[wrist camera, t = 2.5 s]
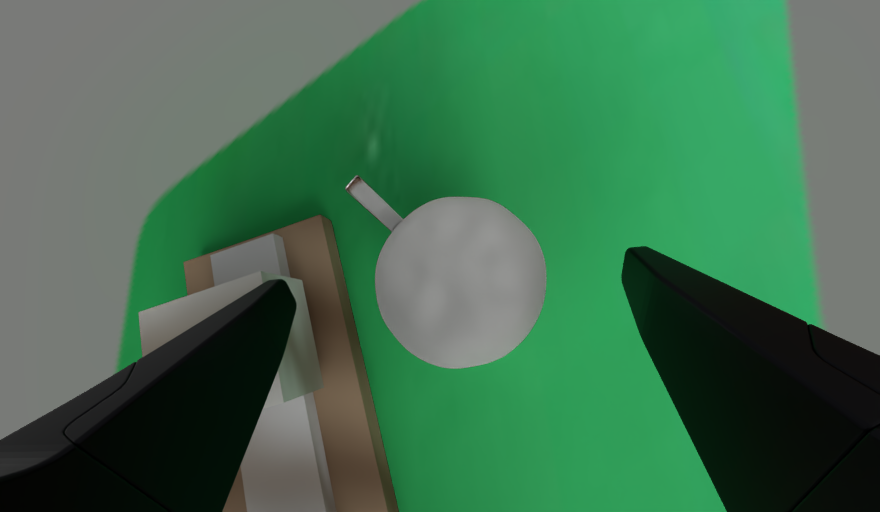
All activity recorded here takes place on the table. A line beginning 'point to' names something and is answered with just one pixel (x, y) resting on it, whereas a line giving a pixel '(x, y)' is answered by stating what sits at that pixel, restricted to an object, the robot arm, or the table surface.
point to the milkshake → (456, 278)
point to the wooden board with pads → (295, 376)
